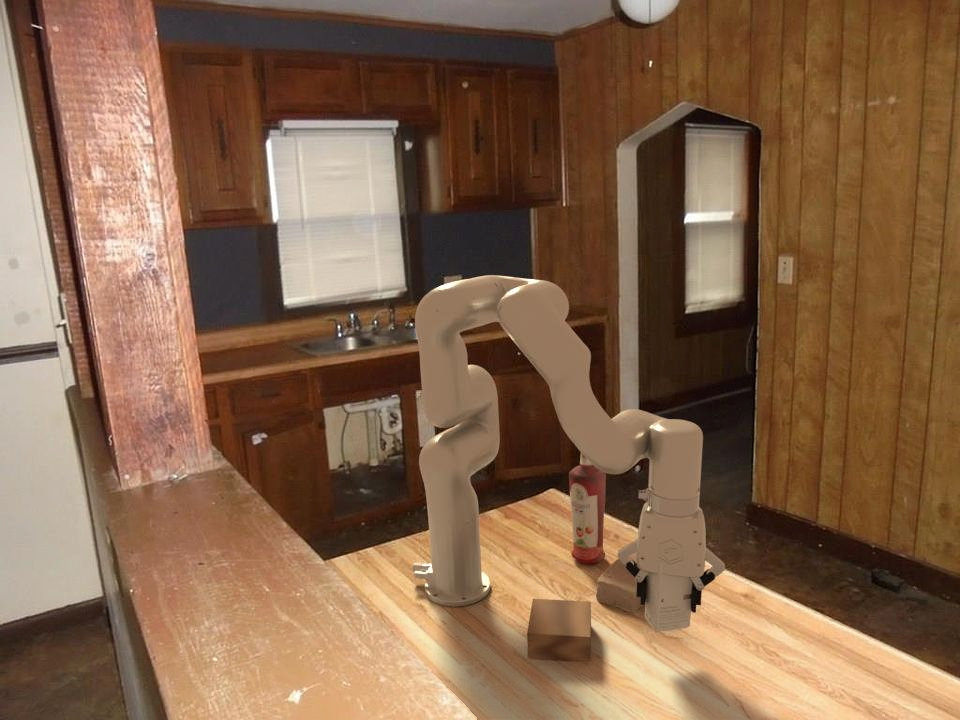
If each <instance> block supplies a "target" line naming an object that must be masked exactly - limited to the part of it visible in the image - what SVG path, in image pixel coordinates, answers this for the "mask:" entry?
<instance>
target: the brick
mask: <svg viewBox="0 0 960 720" xmlns="http://www.w3.org/2000/svg"><path fill="white" fill-rule="evenodd" d="M636 557H637V552H635V553H634V554H632V555H630V558H631V559H632V560H634V561H635V562H636V563H637V559H636ZM596 581H597V583H596V595H595V597H596V600H597V601H599V602H601V603H602V604H606V605H610V606H613V607H616V608H618V609H621V610H623V611H627V612H630V613H637V611H639V609H641V607H642V606H643V605H640V602H641V597H636V594H637V581H636V580H635V577H634V576H633V575H632V574H631V573H630V572H629V571H628V570H627V569H626V566H625V565H624V564H623V563H622V562H621V561H620V559H619V558H618V559H616V560H615V561H613V562H612V563H611V564H610V566H608V567H607V568H606V569H604V571H603V573H601V575H600V576H599V577H598V578H597V580H596Z"/></svg>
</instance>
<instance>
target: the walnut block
mask: <svg viewBox="0 0 960 720" xmlns="http://www.w3.org/2000/svg"><path fill="white" fill-rule="evenodd" d="M528 620H529V621H528V626H527V634H526V636H527V639H526V640H527V659H528V660H537V661H538V660H539V661H553V662H568V663H569V662H570V663H584V664H591V661H592V659H591V655H592V654H591V653H592V652H591V651H592V645H591V644H592V640H591V639H592V602H591V601H590V600H589V601H585V600H568V599H566V600H565V599H548V598H532V601H531V608H530V614H529V619H528Z"/></svg>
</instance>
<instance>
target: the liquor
mask: <svg viewBox="0 0 960 720" xmlns="http://www.w3.org/2000/svg"><path fill="white" fill-rule="evenodd" d="M606 479H607V473H605V472H603V471H601V470H599V469H598V468H596V467H595V466H594V465H593V464H591V463H590V462H589V461H588V460H587V458H586V457H585V456H584V455H583V454H582V453H581V452H580V461H579V465H577V466H575V467H574V468H572V469H571V470H570V471H569V472H568V480H569V499H570V509H571V510H570V511H571V522H572V523H571V526H572V541H573V543H572V547H573V549H572V551H571V553H570V554H571V557H572V558H573V559H574V560H575V561H577V562H578V563H579V564H581V565H583V566H594V565H597V564H598V563H599V562H601V561H602V560H604V558H606V552H605V551H604V527H605V524H604V523H605V522H604V520H605V505H606V484H607V483H606V482H607V480H606Z"/></svg>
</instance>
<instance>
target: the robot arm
mask: <svg viewBox="0 0 960 720" xmlns="http://www.w3.org/2000/svg"><path fill="white" fill-rule="evenodd" d="M568 299H569V298H568V297H567V295H566V293H565V292H564V290H562V288H561V287H560V286H558V285H557V284H555V283H553V282H551V281H548V280H544V279H542V280H541V279H533V278H523V277H522V278H521V277H514V276H507V275H506V276H505V275H497V274H496V275H495V274H493V275H492V274H491V275H489V274H488V275H482V276H476V277H472V278H466V279H465V278H464V279H461V280H456V281H452V282H448V283H445V284H442V285H440V286H438V287H435V288H433V289H431V290H430V291H428V293H427V294H425V295H424V296H423V297H422V298H421V300H420V302H419V303H418V305H417V308H416V311H415V315H414V325H415V326H414V327H415V332H416V334H415V335H416V339H417V343H418V345H417V346H418V351H419V352H418V353H419V368H420V382H421V393H422V397H421V398H422V405H423V411H424V412H423V413H424V415H425V417H426V419H427V421H428V422H429V423H430V424H431V425H432V426H434V427H437V428H440V429H441V428H443V429H444V428H448V429H446V430H444V431H442V432H440V433H438V434H436V435H435V436H433V437H432V438H430V439H429V440H428V441H427V442H426V443H425V444H424V445H423V447H422V448H421V450H420V454H419V458H418V466H419V470H420V473H421V477H422V481H423V484H424V486H423V487H424V490H425V496H426V505H427V506H426V507H427V516H428V517H427V518H428V532H429V533H428V534H429V546H430V547H429V548H430V560H431V561H430V562H429V563H423V562H417V561H416V562H415V561H414V563H413V564H412V572H413V574H414V575H413V576H414V579H420V580H422V579H423V580H424V579H425V584H424V593H425V595H426V597H427V598H428V599H429V600H430V601H432V602H433V603H436V604H437V605H442V606H445V607H463V606H469V605H472V604H475V603H477V602H479V601H482V600H483V599H484V598H485V597H486V596H487V595H488V594H489V592H490V591H491V580H490V578H489V576H488V575H487V574H486V573H485V572H483V571H482V557H481V556H482V551H481V533H480V531H481V530H480V514H479V501H478V496H477V494H476V491H475V489H474V488H473V486H472V483H471V476H473V475H474V474H476V473H477V472H478V471H480V470H482V469H483V468H485V467H486V466H488V465H489V464H491V462H493V461H494V460H495V459H496V457H497V455H498V454H499V453H498V452H499V449H500V441H501V440H500V436H501V435H500V418H499V398H498V397H499V396H498V390H497V386H496V383H495V381H494V378H493V377H492V375H491V374H490V373H489V372H488V371H487V370H486V369H485V368H483V366H482V367H481V366H479V365H476V364H468V363H469V362H468V352H467V351H468V350H467V347H466V343H465V342H464V339H463V338H462V336H461V334H460V333H462V332H465V331H467V330H472V329H474V328H478V327H479V328H480V327H482V326H485V325H488V324H491V323H499V324H500V326H501V328H502V330H504V332H505V333H506V334H507V335H508V336H509V338H510V339H511V340H512V341H513V344H514V343H515V345H516V347H517V348H518V349H519V350H520V351H521V352H522V353H523V355H524V356H525V357H526V358H527V359H528V361H529V362H530V364H532V366H533V367H534V368H535V370H536V371H537V372H538V373H539V375H541V377H542V378H543V379H544V381H545V382H546V383H547V385H548V387H549V390H550V396H551V399H552V403H553V406H554V410H555V412H556V415H557V418H558V422H559V423H560V426H561V427H562V429H563V431H564V432H565V434H566V435H567V437H568V438H569V439H570V441H571V442H572V443H573V444H574V446H575V447H576V448H577V449H578V451H579V452H580V454H581V453H582V454H583V455H584V456H585V457H586V458H587V460H588V461H589V462H590V463H591V464H593V465H594V466H595V467H596V468H598V469H599V470H601V471H603V472H605V473H606V474H608V475H620V474H624V473H625V472H627V471H629V470H630V469H632V468H633V467H634V466H635V465H636V464H638V462H640V460H643V459H646V458H647V459H648V460H649V462H648V464H649V466H648V485H647V486H648V487H646V489H643V490H642V489H641V490H640V489H638V497H637V498H638V499H639V500H643V501H645V503H644V504H643V507H642V509H641V513H640V517H639V523H638V529H637V539H635V540H634V541H632V542H630V543H628V544H627V545H625V546H623V547H621V548H620V549H618V551H617V556H616V557H617V558H618V559H620V561H621V562H622V563H623V564H624V565H625V566H626V569H627V570H628V571H629V572H630V573H631V574H632V575H633V576H634V577H635V580H636V581H637V594H636V597H641V602H640V605H642V606H643V607H644V606H645V600H646V578H647V574H648V572H650V573H658V568H659V562H662V571H661V573H662V574H665V575H672V576H680V577H689V578H691V579H692V581H693V585H692V600H691V612H692V613H693V614H694V613H695V614H696V613H697V606H699V607H700V606H702V591H703V590H704V589H705V587H706V586H708V585H709V584H711V583H712V582H714V581H715V579H716V578H717V577H719V575H721V574H722V573H723V572H725V569H726V565H725V562H724V561H723V560H722V559H721V558H719V557H718V556H717V555H715V553H714V552H712V551H711V550H710V549H709V548H707V545H706V544H707V543H706V540H707V539H706V538H707V537H706V536H707V534H706V521H705V515H704V512H703V509H702V508H701V507H700V491H701V478H702V477H701V476H702V475H701V474H702V461H703V459H702V458H703V443H704V434H703V431H702V429H701V427H699V425H697V424H696V423H694V422H692V421H689V420H685V419H678V418H677V419H676V418H675V419H674V418H673V419H671V418H670V419H669V418H666V417H662V416H659V415H657V414H654V413H650V412H649V411H645V410H641V409H636V408H635V409H634V408H629V409H625V410H622V411H621V412H620V413H618V414H616V415H615V416H613V417H610V416H609V415H608V413H607V412H606V411H605V410H604V409H603V407H602V405H601V404H600V403H599V401H598V400H597V397H596V396H595V395H594V392H593V390H592V389H593V388H592V386H591V381H590V368H591V360H592V353H591V351H590V349H589V347H588V346H587V345H586V344H585V343H584V342H583V340H582V339H581V338H580V337H579V336H578V335H577V334H576V332H575V331H574V330H573V329H572V327H571V326H570V325H569V324H568V323H567V322H566V321H565V320H566V319H567V317H568V315H569V310H570V303H569V300H568ZM635 552H637V557H636V559H637V563H636V562H635V561H634V560H632V559H631V558H630V555H632V554H634V553H635ZM706 562H707V563H708V564H710V566H711V567H710V568H707V569H705V567H706Z"/></svg>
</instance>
